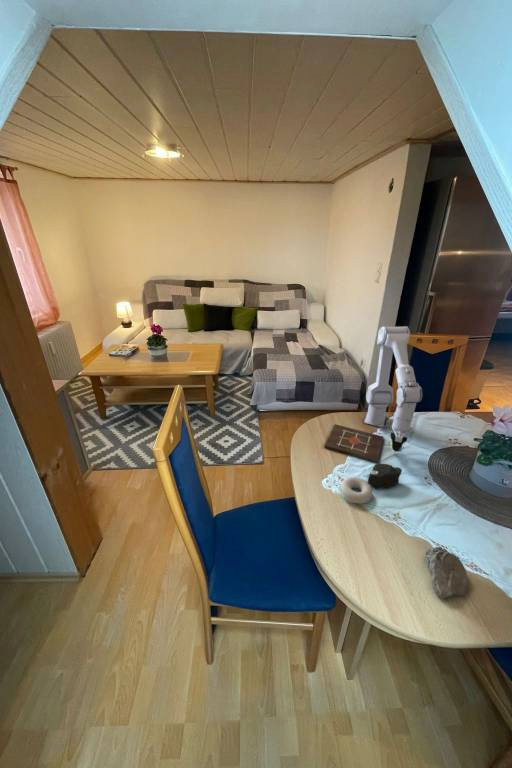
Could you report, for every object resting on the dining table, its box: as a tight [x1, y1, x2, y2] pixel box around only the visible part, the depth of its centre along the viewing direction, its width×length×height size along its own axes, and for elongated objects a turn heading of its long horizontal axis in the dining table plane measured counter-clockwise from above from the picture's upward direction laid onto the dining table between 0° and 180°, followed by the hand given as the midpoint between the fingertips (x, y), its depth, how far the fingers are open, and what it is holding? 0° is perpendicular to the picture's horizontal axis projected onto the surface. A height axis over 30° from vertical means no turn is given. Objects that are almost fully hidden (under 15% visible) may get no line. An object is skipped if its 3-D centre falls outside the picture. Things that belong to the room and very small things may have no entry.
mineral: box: [367, 463, 403, 490], centre depth 101 cm, size 10×9×6 cm
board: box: [324, 423, 384, 464], centre depth 121 cm, size 16×20×1 cm
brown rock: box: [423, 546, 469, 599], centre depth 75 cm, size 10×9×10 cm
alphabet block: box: [389, 440, 404, 453], centre depth 113 cm, size 3×3×3 cm
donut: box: [340, 476, 373, 505], centre depth 98 cm, size 10×4×10 cm
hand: (396, 446), depth 113 cm, fingers closed on alphabet block, 4 cm apart
